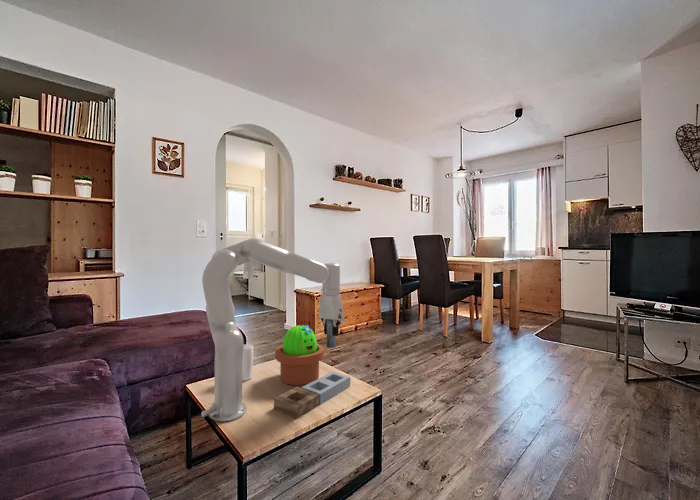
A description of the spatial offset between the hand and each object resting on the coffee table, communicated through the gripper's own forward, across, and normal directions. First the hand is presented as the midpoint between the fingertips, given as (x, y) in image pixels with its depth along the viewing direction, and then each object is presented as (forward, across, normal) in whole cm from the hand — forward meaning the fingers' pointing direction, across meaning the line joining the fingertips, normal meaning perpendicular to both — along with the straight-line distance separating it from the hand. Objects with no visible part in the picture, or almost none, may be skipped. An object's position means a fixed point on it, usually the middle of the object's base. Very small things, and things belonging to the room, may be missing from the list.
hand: (331, 334), depth 137 cm
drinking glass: (+24, -38, -16) cm, 48 cm away
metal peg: (+5, 0, 0) cm, 5 cm away
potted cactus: (+24, -19, 0) cm, 31 cm away
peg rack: (+24, 0, -3) cm, 24 cm away
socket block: (+24, -1, -20) cm, 31 cm away
